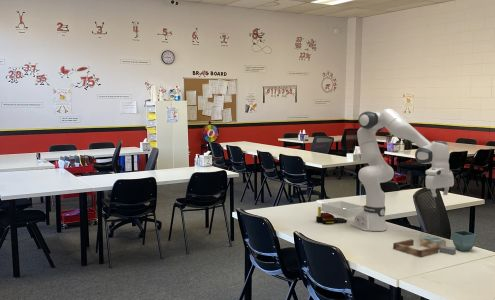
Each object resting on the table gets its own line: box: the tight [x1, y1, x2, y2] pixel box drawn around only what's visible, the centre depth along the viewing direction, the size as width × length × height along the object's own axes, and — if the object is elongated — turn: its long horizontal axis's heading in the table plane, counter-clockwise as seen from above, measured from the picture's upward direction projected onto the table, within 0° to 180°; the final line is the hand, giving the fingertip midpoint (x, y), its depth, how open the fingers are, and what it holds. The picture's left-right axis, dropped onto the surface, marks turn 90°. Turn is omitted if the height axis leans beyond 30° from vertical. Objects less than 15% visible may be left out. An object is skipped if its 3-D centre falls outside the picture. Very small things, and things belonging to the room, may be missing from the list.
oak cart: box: [419, 235, 447, 249], centre depth 260 cm, size 10×8×5 cm
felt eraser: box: [438, 245, 457, 256], centre depth 249 cm, size 7×4×3 cm, turn 50°
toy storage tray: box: [321, 200, 365, 219], centre depth 338 cm, size 25×19×6 cm
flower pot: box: [451, 230, 477, 252], centre depth 254 cm, size 9×9×9 cm
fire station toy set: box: [315, 206, 348, 226], centre depth 311 cm, size 14×20×11 cm
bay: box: [392, 239, 439, 258], centre depth 252 cm, size 17×14×3 cm
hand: (440, 195), depth 263 cm, fingers open, 8 cm apart
